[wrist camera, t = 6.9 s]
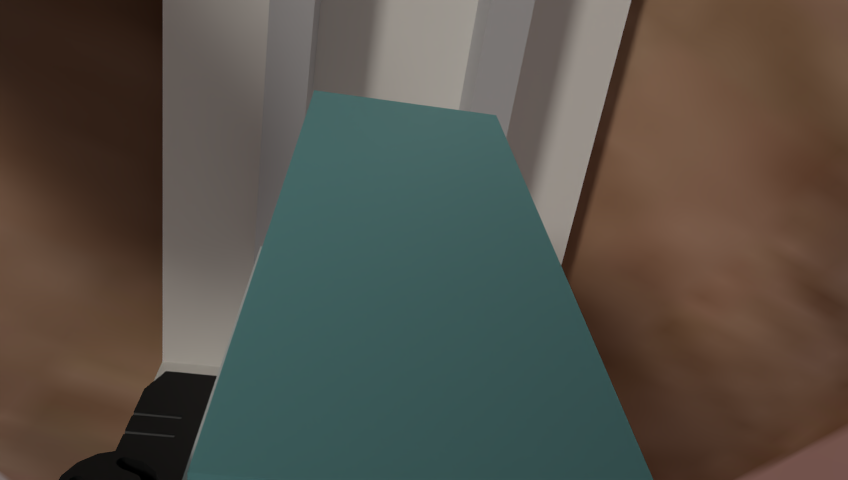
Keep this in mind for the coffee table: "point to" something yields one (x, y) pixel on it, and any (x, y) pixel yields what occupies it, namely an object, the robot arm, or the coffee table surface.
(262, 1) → the track
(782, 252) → the coffee table surface
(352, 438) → the teal sliding block
